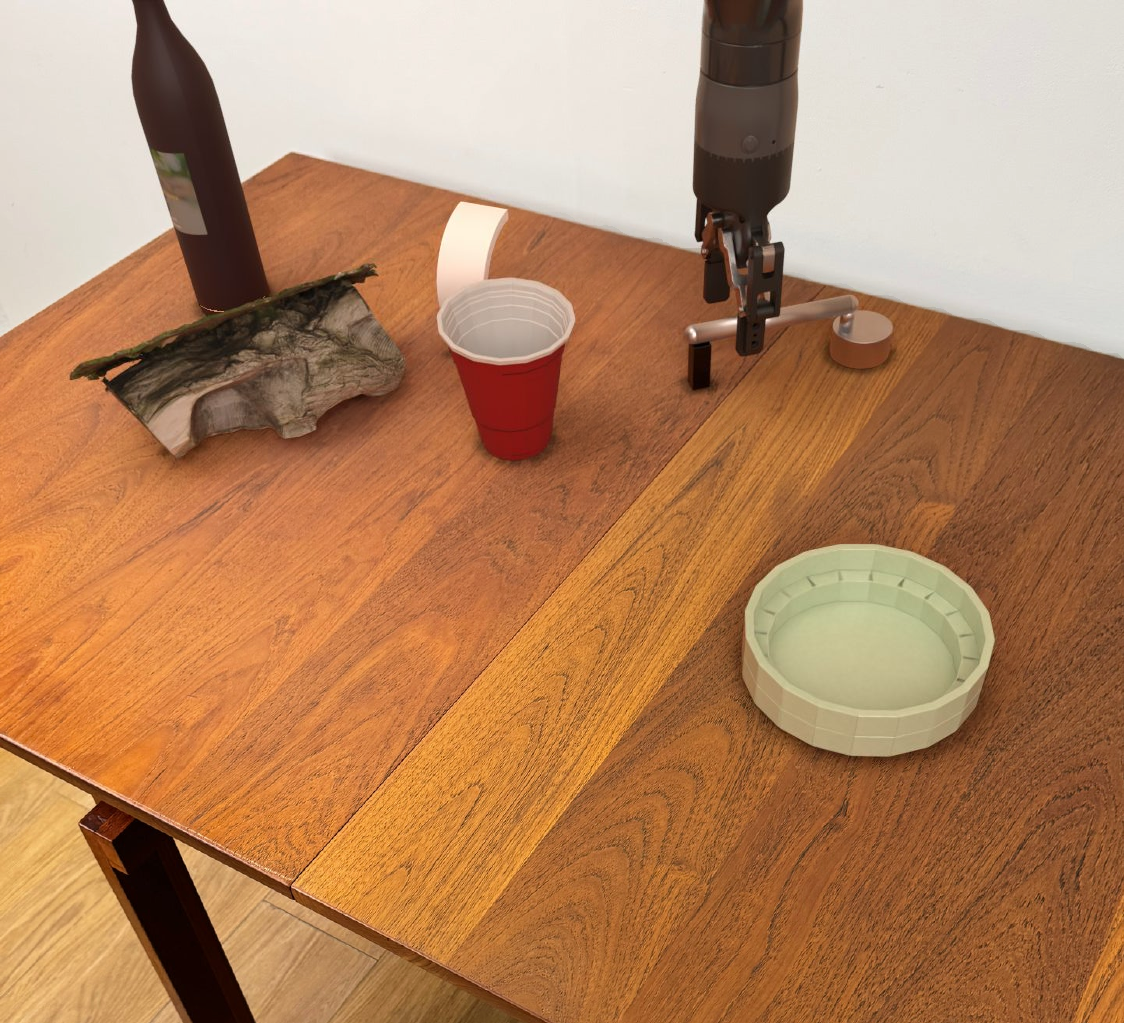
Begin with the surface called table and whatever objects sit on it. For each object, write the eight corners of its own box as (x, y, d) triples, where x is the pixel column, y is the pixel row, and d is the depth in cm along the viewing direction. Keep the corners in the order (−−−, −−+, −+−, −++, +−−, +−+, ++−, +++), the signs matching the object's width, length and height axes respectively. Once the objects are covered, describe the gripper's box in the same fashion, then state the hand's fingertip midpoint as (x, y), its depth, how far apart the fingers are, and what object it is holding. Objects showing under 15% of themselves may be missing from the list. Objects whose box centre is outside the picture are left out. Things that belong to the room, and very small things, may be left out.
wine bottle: (202, 287, 122) (97, -53, 99) (272, 279, 122) (183, -62, 99) (196, 325, 118) (85, -22, 94) (269, 317, 118) (175, -32, 95)
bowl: (918, 571, 90) (929, 524, 87) (1022, 730, 80) (1038, 684, 76) (710, 616, 88) (713, 570, 85) (789, 785, 78) (796, 741, 75)
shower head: (692, 403, 105) (694, 344, 100) (674, 370, 108) (675, 311, 104) (898, 362, 107) (908, 302, 102) (874, 331, 110) (883, 272, 106)
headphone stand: (519, 334, 113) (508, 209, 104) (490, 369, 110) (476, 243, 101) (476, 325, 115) (461, 201, 105) (446, 359, 111) (427, 234, 102)
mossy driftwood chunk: (133, 516, 107) (115, 484, 92) (70, 379, 105) (42, 324, 91) (422, 408, 113) (448, 361, 99) (367, 277, 112) (385, 210, 97)
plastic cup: (510, 499, 98) (495, 370, 89) (429, 442, 104) (407, 314, 94) (608, 440, 102) (604, 311, 93) (526, 388, 108) (514, 261, 98)
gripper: (827, 165, 86) (804, 363, 99) (759, 84, 95) (745, 276, 108) (727, 182, 86) (716, 380, 98) (668, 99, 94) (665, 291, 107)
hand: (732, 326), depth 103 cm, fingers open, 8 cm apart
